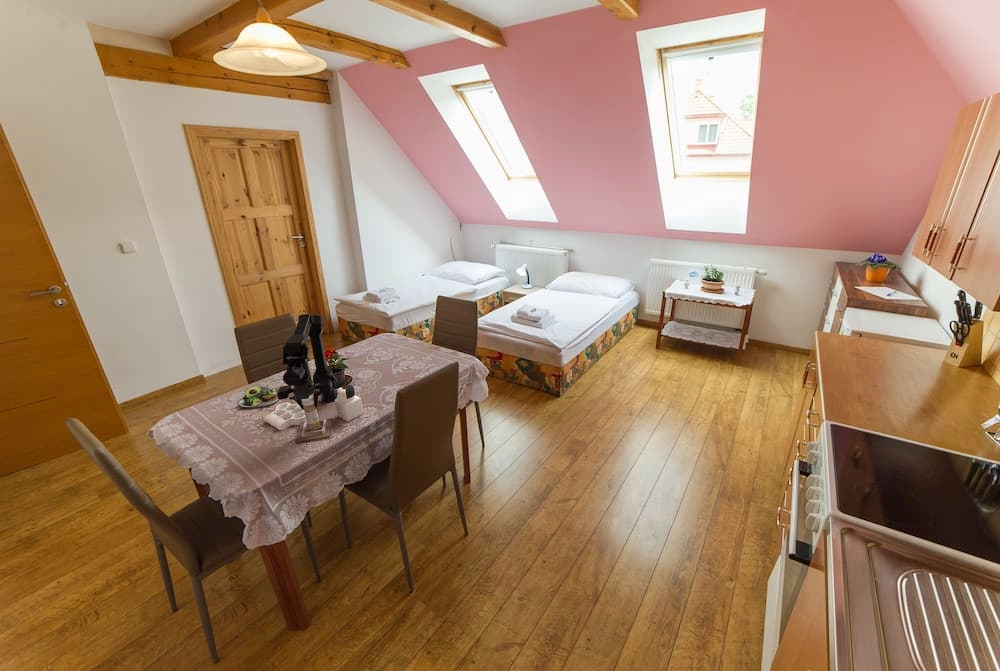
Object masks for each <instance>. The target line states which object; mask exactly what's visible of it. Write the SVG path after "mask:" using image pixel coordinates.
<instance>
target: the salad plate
mask: <svg viewBox="0 0 1000 671" xmlns="http://www.w3.org/2000/svg"><path fill="white" fill-rule="evenodd" d="M280 387H281V386H274V387H264V386H259V385H251V386H250V387H248V388H247V389H246V390H245V392H244V396H243V398H242V399H240V401H239V403H238V406H239V407H240V408H242V409H247V410H248V409H255V408H261V407H262V408H263V407H268V406H271V405H273V404H275V403H277V402H279V401H280V400H279V399H278V397H277V392H278V390H279V388H280ZM266 401H270V402H267V403H265V402H266ZM262 403H265V404H262Z"/></svg>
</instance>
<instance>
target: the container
mask: <svg viewBox="0 0 1000 671" xmlns="http://www.w3.org/2000/svg"><path fill="white" fill-rule="evenodd" d="M336 393H337V399H336V400H335V401H334V404H335V409H336V410H335V411H336V413H337V416H338V417H339V418H341V419H343V420H344V421H346V422H350V421H352V420H354V419H356V418H358V417H360V416H361V415H363V414H364V410H363V403H362V398H361V397H359V396H357V395H356V392H355V386H353V385H351V384H346V385H342V386H340V387H338V389H337V392H336Z"/></svg>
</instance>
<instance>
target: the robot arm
mask: <svg viewBox="0 0 1000 671" xmlns="http://www.w3.org/2000/svg"><path fill="white" fill-rule="evenodd" d="M297 319H298V322H297V323H296V327H295V329H294V332H293V335H292V336H291V337H289V338H287V340H286V341H285V343H284V345H283V347H282V365H287V367H286V371H285V372H284V374H283V376H282V381H283V382H284V384H286V385H283V386H281V385H280V386H279V387H280V388H279V390H278V392H277V397H278V399H279V400H278V401H280V400H286V399H289V400H292V401H295V402H296V404H298V405H299V406H300V407H301V408H302V410H304V407H303V405H302V399H308V398H309V397H310V396H312V395H313V397H314V402H315V408H316V409H317V408H318V401H319V396H321V399H320V403H329V402H335V400H336V399H338V392H336V391H335V390H336V387H337V386H339V383H338V378H337V377H336V376H335V375H334V374H333V372H334V371H333V370H332V369H331V368H330V366H328V362H327V358H326V352H325V346H324V340H323V336H322V334H323V332H324V329H325V323H326V322H325V317H324V316H322V315H321V314H312V313H302V314H299V315H298V318H297ZM308 337H309V339H310V345H311V349H312V350H311V351H312V355H313V360H314V366H315V371H314V373H313V375H312V376H311V370H310V366H309V362H308V360H309V356H310V355H309V353H310V347H309V345H308V342H307V339H308ZM292 387H293V388H292Z"/></svg>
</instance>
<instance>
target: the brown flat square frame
mask: <svg viewBox="0 0 1000 671" xmlns="http://www.w3.org/2000/svg"><path fill="white" fill-rule="evenodd" d="M333 421H334V419H333V417H330V418H322V419H319V424H320V428H319V429H317V430H314V431H310V430H308V425H307V422H304V423H301V425H299V429H298V433H297V436H296V439H295V444H300V443H302V444H303V443H307V442H312V441H318V440H324V439H330V438H331V434H332V433H331V432H332V426H333Z"/></svg>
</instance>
